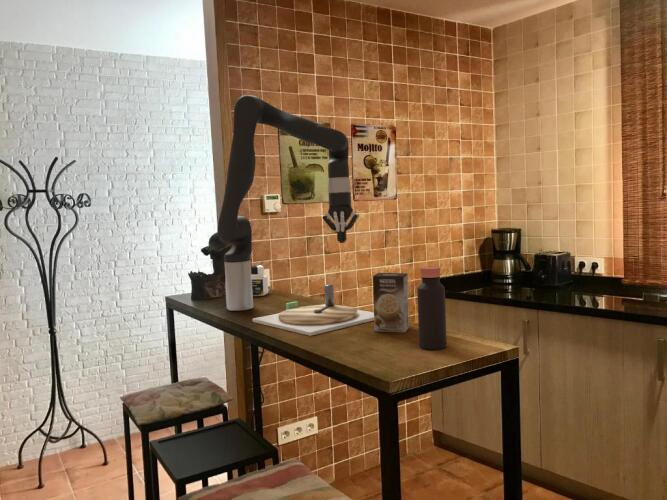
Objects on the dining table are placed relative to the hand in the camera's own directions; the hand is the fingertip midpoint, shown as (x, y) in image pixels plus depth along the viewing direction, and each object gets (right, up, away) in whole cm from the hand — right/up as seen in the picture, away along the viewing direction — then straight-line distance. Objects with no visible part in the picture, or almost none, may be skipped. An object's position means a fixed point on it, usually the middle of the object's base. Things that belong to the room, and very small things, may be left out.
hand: (342, 242), depth 199 cm
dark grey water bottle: (+22, -27, -52) cm, 62 cm away
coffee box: (+14, -26, -31) cm, 43 cm away
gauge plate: (-8, -25, -13) cm, 29 cm away
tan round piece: (-8, -23, -13) cm, 28 cm away
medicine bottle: (-34, -21, +42) cm, 58 cm away
